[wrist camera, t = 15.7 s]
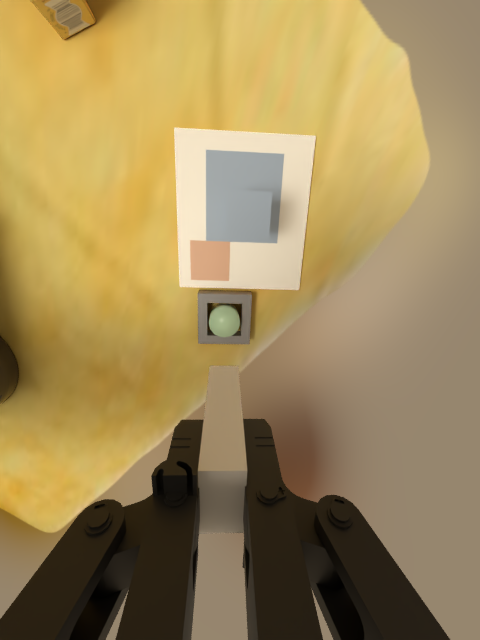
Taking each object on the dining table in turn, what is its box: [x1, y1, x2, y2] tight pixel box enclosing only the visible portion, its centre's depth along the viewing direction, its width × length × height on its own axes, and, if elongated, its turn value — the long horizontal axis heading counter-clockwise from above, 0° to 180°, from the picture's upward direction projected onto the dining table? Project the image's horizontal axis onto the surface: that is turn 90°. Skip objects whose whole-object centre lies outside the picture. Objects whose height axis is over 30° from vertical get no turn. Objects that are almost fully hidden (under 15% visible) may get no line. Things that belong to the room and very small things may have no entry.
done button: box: [209, 303, 240, 337], centre depth 37 cm, size 4×4×3 cm
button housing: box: [198, 290, 252, 344], centre depth 38 cm, size 7×7×2 cm
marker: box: [225, 189, 272, 239], centre depth 30 cm, size 4×4×10 cm
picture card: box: [174, 128, 316, 290], centre depth 35 cm, size 16×18×1 cm
